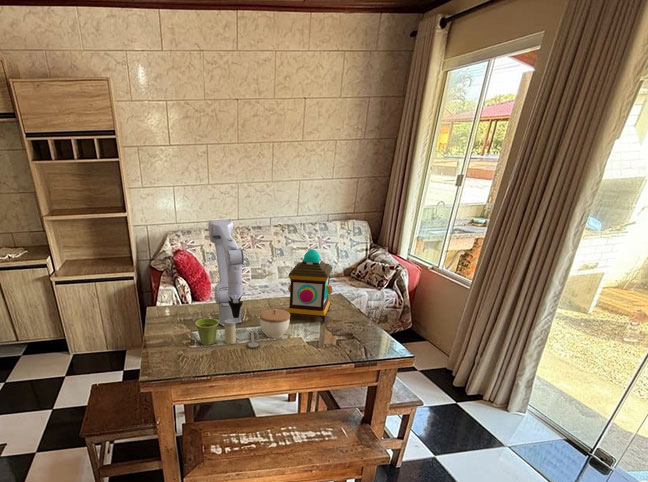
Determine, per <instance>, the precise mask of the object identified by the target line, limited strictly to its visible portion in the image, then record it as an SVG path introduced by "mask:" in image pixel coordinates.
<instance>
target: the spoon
mask: <svg viewBox="0 0 648 482" xmlns="http://www.w3.org/2000/svg"><path fill="white" fill-rule="evenodd" d="M250 340H251V342H248V343H247V347H248V348H249V349H258V348H259V347H260V344H259V343H258V342H256V340H255V332H254V331H250Z"/></svg>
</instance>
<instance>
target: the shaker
mask: <svg viewBox="0 0 648 482" xmlns="http://www.w3.org/2000/svg"><path fill="white" fill-rule="evenodd" d="M224 325H225V327H224V342H225V344H229V345H232V344H235V343H236V342H237V333H236V332H237V331H236V329H237V327H236V326H237V324H236V321H235V320H234V319H227V320H225V321H224Z"/></svg>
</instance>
